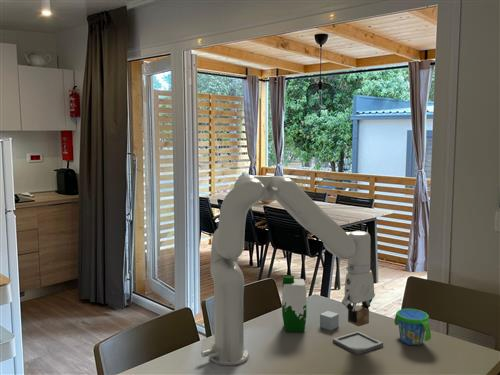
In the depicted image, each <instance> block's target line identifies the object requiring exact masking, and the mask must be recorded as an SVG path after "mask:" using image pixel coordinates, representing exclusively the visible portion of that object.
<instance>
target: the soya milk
mask: <svg viewBox="0 0 500 375" xmlns="http://www.w3.org/2000/svg"><path fill="white" fill-rule="evenodd" d="M281 289H282V292H281V314H282V321H283V327H284V332H285V333H304V332H305V331H306V330H305V329H306V322H307V287H306V283H305V279H304V278H295V276H294V275H292V274H286V275H283V276H282V288H281Z"/></svg>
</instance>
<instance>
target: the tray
mask: <svg viewBox="0 0 500 375" xmlns="http://www.w3.org/2000/svg"><path fill="white" fill-rule="evenodd" d="M332 343H334V344H336V345H337V346H340V347H341V348H343V349H345V350H347V351H349V352H351V353H353V354H355V355H357V356H359V355H362V354H365V353H367V352H371V351H374V350H375V349H380V348H382V347H384V342H382V341H380V340H378V339H376V338H373V337H372V336H370V335H368V334H366V333H363V332H361V331H359V330H357V331H353V332H351V333H347V334H344V335H340V336H337V337H334V338H332Z"/></svg>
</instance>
